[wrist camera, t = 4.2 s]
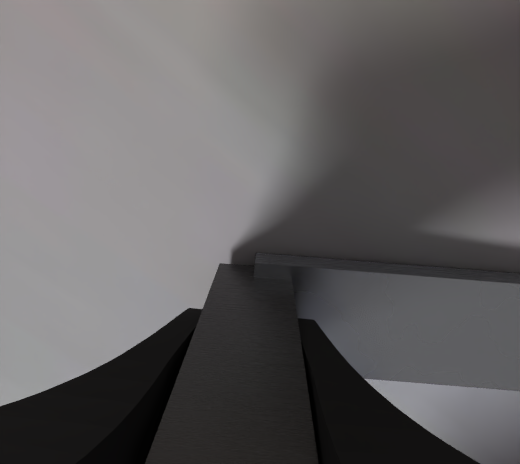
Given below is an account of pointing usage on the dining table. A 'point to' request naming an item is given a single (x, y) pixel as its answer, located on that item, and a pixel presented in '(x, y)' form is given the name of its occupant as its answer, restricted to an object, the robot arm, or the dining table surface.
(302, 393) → the grey l-shaped block
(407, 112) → the dining table surface
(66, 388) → the robot arm
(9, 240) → the dining table surface
